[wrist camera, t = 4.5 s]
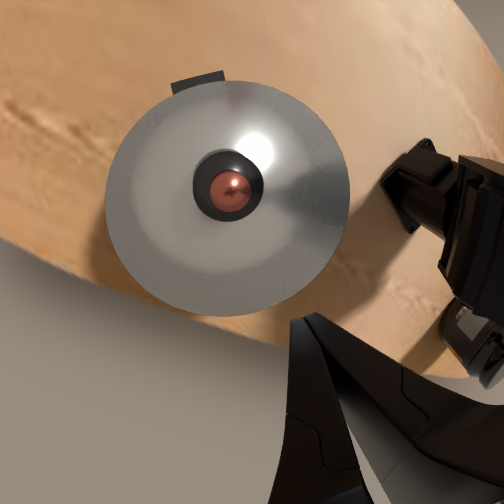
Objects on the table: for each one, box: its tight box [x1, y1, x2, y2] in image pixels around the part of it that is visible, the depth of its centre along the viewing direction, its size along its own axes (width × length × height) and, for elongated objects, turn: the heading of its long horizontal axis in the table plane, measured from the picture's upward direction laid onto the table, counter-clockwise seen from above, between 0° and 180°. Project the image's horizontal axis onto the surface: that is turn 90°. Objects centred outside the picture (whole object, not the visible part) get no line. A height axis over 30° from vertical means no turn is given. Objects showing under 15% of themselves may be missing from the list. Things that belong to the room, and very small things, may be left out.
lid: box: [105, 81, 350, 317], centre depth 12 cm, size 11×11×3 cm
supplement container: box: [439, 298, 504, 390], centre depth 28 cm, size 10×10×12 cm
